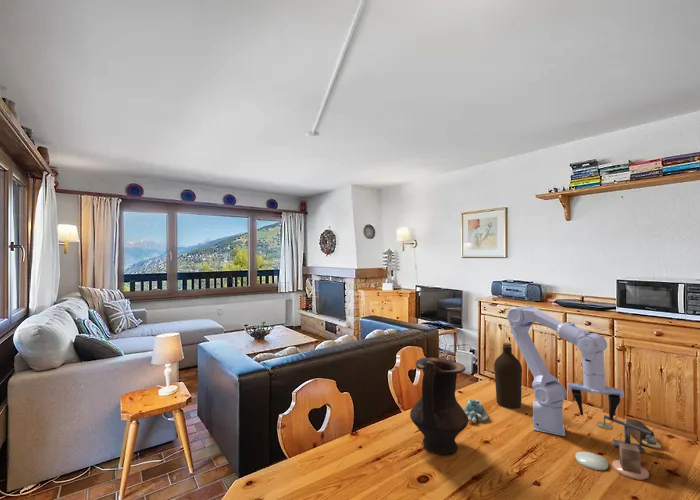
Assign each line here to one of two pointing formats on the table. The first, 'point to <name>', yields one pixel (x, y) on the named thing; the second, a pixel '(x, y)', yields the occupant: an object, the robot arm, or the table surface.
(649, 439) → the balance
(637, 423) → the brick
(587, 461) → the sage dish
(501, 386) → the olive oil
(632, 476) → the pink disc
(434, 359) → the jug
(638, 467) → the walnut block
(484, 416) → the stuffed animal
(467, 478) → the table surface
